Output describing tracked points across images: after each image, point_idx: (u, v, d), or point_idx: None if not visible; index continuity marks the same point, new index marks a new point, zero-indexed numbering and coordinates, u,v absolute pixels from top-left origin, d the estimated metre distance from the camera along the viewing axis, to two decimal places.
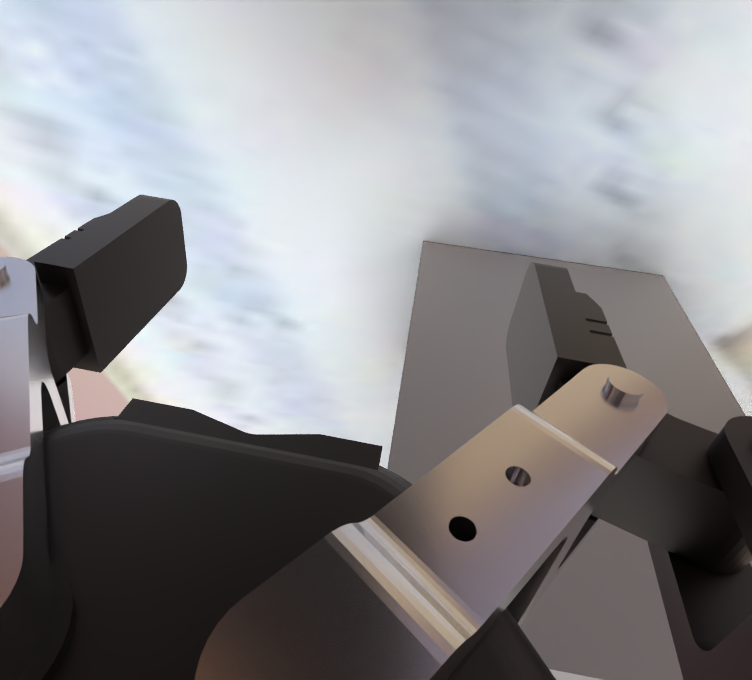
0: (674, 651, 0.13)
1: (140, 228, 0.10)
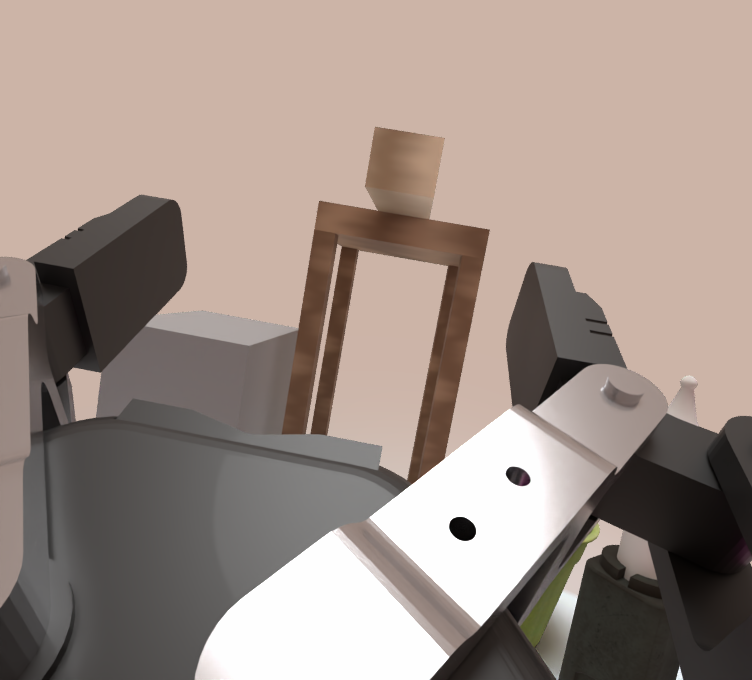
0: None
1: (140, 228, 0.10)
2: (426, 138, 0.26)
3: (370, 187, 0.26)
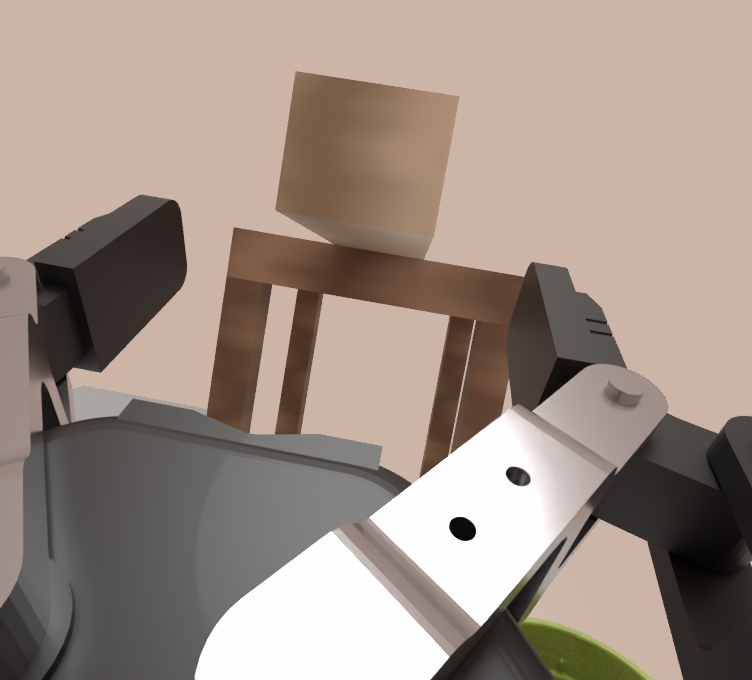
0: None
1: (140, 228, 0.10)
2: (416, 97, 0.11)
3: (288, 212, 0.11)
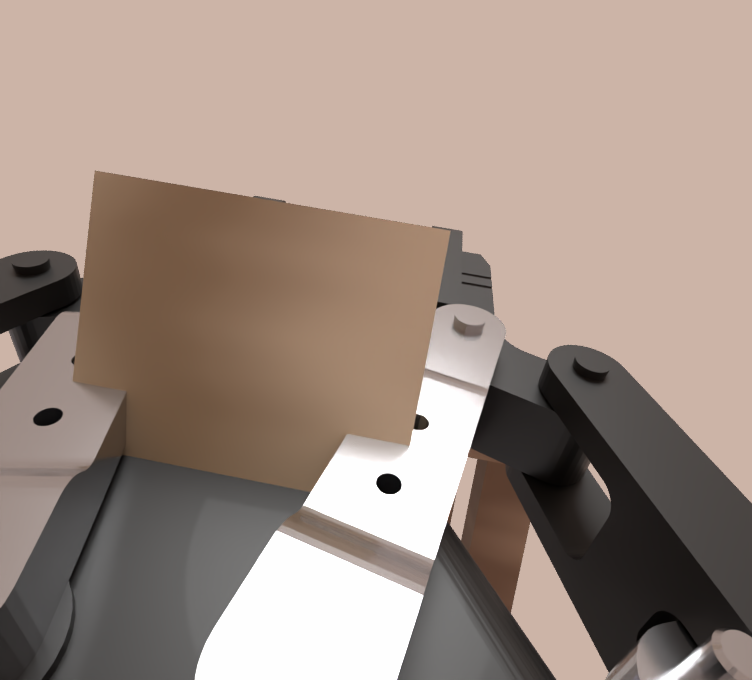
0: None
1: None
2: (355, 233, 0.05)
3: None
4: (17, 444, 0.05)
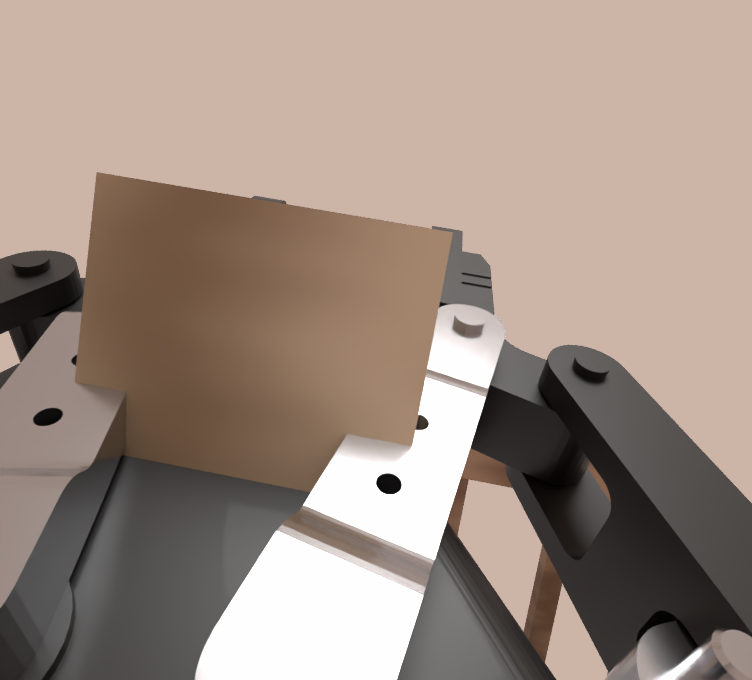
0: None
1: None
2: (357, 234, 0.05)
3: None
4: (15, 445, 0.05)
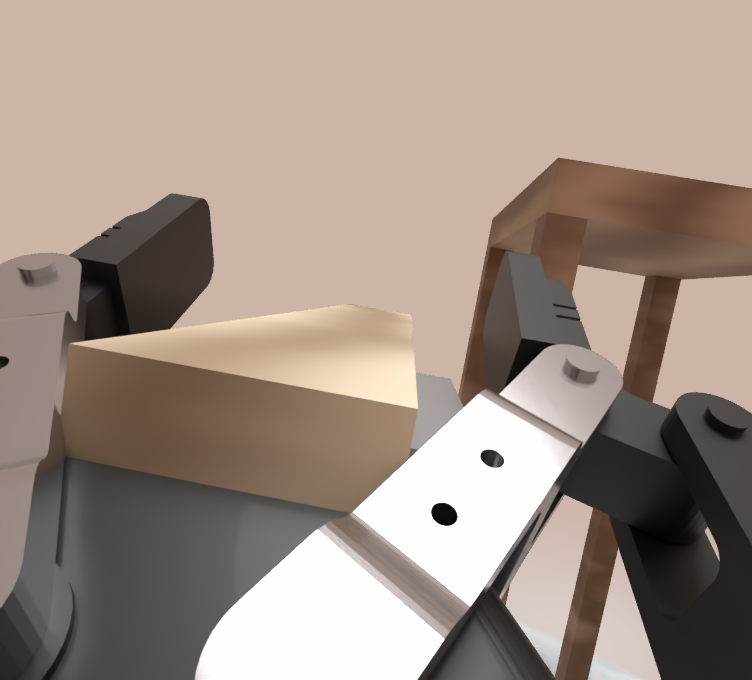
0: None
1: (174, 226, 0.10)
2: (324, 410, 0.05)
3: None
4: None
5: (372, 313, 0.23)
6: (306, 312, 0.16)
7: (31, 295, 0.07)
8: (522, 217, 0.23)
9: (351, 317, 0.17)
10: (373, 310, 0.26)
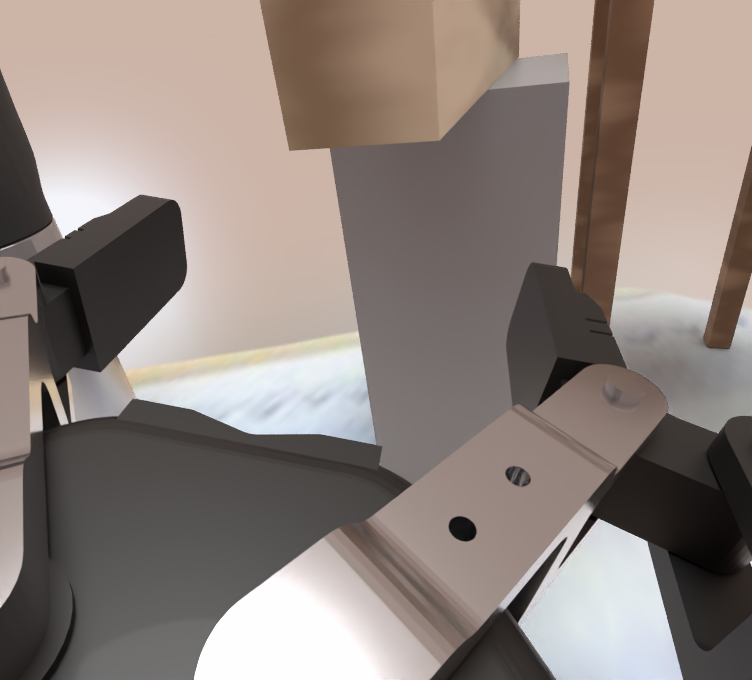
0: None
1: (140, 228, 0.10)
2: None
3: None
4: None
5: None
6: None
7: None
8: None
9: None
10: None
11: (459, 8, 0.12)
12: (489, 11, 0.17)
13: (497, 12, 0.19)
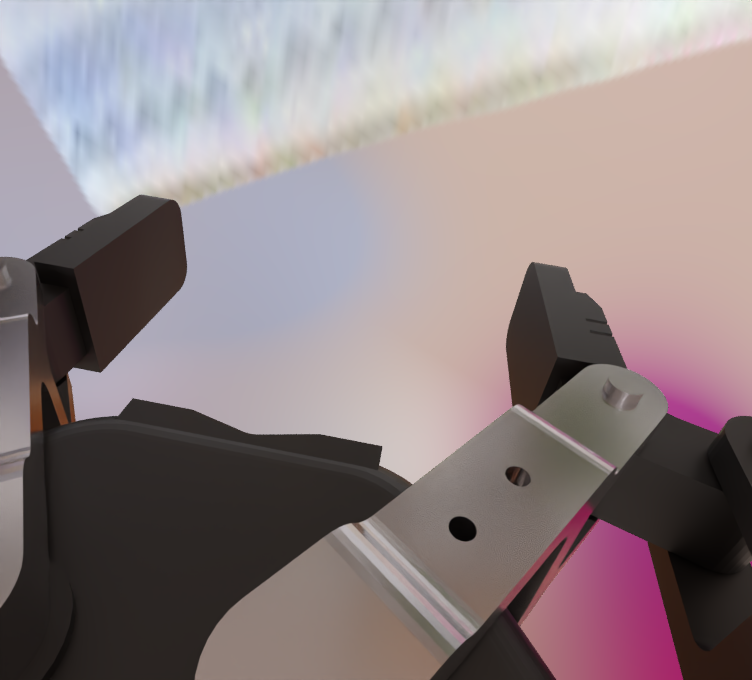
0: None
1: (140, 228, 0.10)
2: None
3: None
4: None
5: None
6: None
7: None
8: None
9: None
10: None
11: None
12: None
13: None
